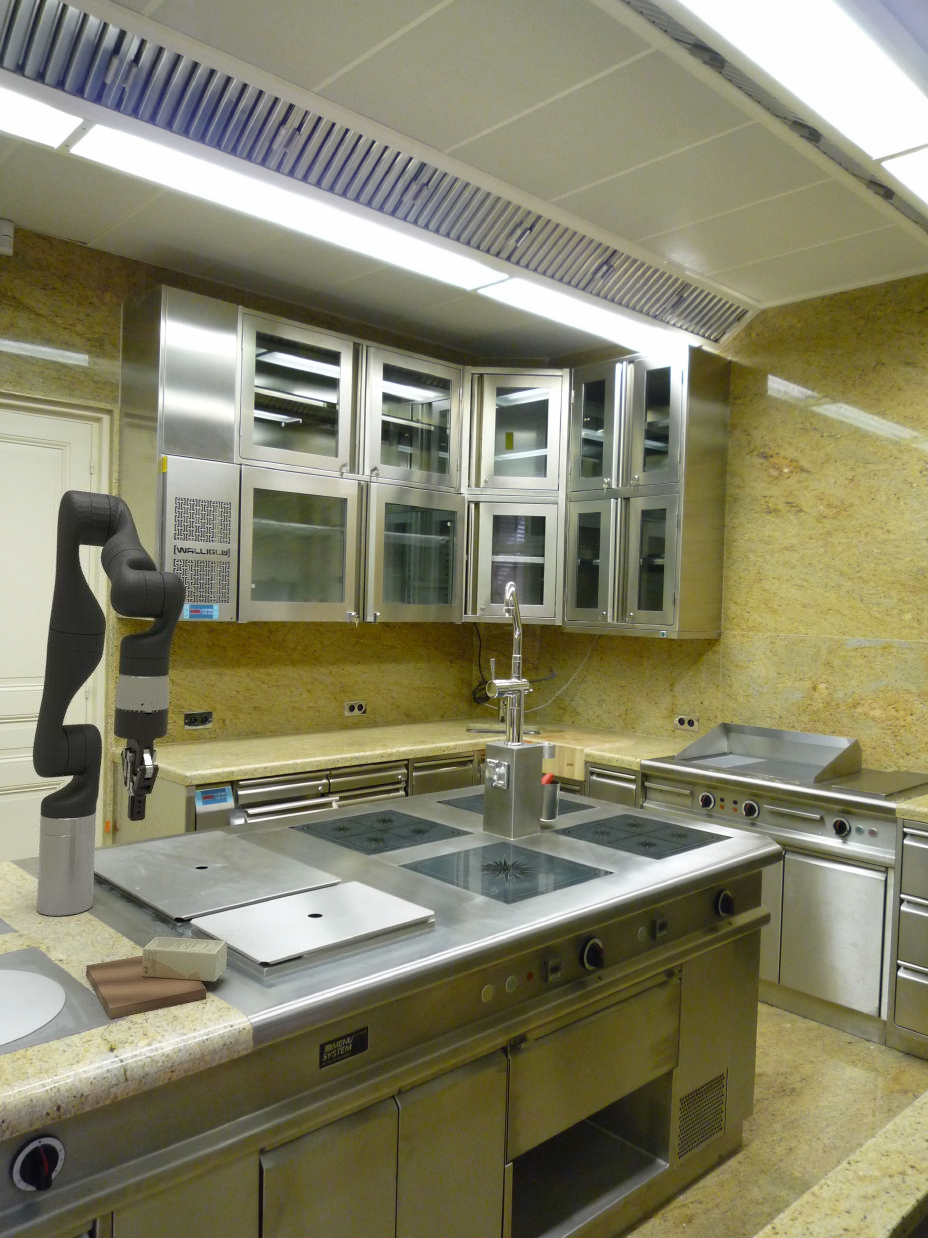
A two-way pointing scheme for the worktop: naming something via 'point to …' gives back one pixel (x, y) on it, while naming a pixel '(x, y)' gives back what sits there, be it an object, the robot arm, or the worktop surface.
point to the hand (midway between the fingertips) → (136, 819)
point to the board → (138, 988)
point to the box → (184, 958)
